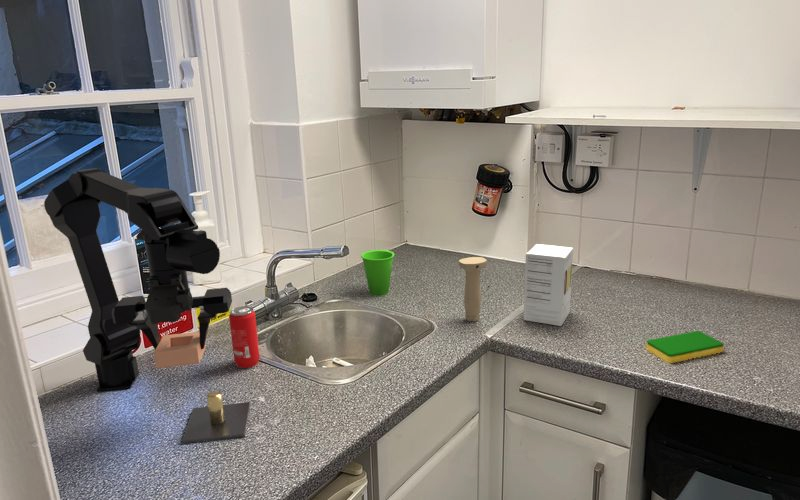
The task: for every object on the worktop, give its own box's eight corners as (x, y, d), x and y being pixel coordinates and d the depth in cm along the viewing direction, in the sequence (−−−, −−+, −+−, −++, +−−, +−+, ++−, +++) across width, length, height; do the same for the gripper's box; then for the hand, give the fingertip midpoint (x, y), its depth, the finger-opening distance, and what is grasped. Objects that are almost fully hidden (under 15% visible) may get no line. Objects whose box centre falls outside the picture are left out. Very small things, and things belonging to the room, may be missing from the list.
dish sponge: (644, 350, 126) (645, 340, 126) (697, 340, 130) (698, 330, 130) (669, 365, 120) (670, 354, 119) (723, 354, 124) (724, 343, 123)
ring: (156, 368, 101) (153, 352, 100) (166, 350, 107) (163, 335, 107) (199, 363, 102) (196, 347, 101) (206, 346, 108) (203, 331, 108)
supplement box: (561, 327, 138) (565, 258, 133) (522, 320, 142) (524, 253, 137) (570, 312, 146) (574, 246, 141) (533, 306, 150) (535, 242, 145)
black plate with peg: (182, 443, 98) (178, 413, 97) (193, 410, 108) (189, 383, 106) (244, 436, 100) (241, 407, 98) (250, 405, 109) (246, 377, 107)
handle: (456, 317, 145) (456, 259, 140) (480, 313, 146) (480, 256, 142) (464, 325, 140) (464, 265, 136) (489, 321, 142) (489, 261, 138)
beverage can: (230, 363, 125) (223, 311, 122) (251, 355, 128) (246, 303, 125) (243, 371, 121) (236, 317, 118) (264, 363, 125) (259, 310, 121)
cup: (392, 299, 157) (391, 260, 154) (359, 298, 159) (357, 259, 156) (398, 287, 166) (397, 249, 163) (366, 286, 167) (364, 249, 164)
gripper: (92, 287, 91) (111, 378, 95) (217, 275, 93) (230, 365, 98) (114, 265, 102) (130, 349, 106) (226, 255, 104) (237, 337, 108)
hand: (181, 350), depth 104 cm, fingers closed on ring, 7 cm apart
